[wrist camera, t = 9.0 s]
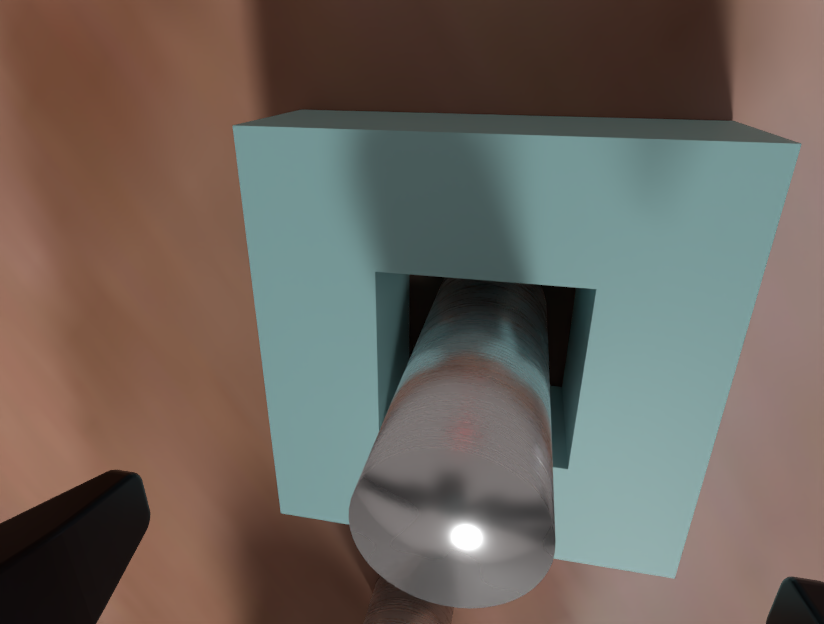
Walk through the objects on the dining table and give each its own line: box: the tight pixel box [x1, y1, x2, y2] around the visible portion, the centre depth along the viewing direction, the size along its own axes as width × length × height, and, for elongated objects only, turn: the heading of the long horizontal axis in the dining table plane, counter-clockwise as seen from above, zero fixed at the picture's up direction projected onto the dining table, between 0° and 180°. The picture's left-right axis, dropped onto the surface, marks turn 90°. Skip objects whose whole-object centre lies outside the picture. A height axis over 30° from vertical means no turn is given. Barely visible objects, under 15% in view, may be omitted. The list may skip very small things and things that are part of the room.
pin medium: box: [349, 277, 556, 608], centre depth 12 cm, size 3×3×8 cm
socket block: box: [233, 110, 801, 579], centre depth 14 cm, size 10×10×4 cm
